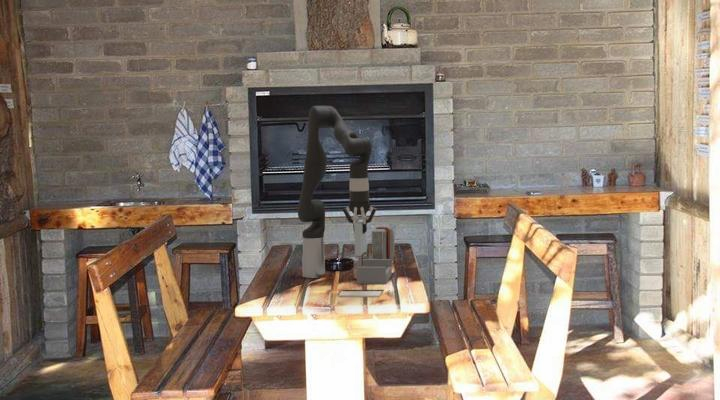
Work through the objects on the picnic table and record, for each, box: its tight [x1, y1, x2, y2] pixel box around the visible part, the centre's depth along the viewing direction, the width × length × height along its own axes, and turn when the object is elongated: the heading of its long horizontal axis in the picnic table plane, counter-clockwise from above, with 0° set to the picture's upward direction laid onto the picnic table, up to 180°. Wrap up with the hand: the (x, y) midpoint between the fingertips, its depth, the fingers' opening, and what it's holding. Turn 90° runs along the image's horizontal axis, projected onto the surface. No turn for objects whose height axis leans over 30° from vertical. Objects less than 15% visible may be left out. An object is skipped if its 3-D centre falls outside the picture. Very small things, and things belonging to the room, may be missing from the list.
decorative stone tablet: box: [371, 226, 396, 266], centre depth 402 cm, size 19×6×30 cm
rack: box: [355, 258, 393, 285], centre depth 374 cm, size 12×18×8 cm, turn 171°
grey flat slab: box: [353, 219, 367, 256], centre depth 351 cm, size 2×13×12 cm, turn 171°
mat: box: [338, 289, 385, 298], centre depth 354 cm, size 16×14×1 cm
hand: (360, 233), depth 351 cm, fingers closed on grey flat slab, 2 cm apart
